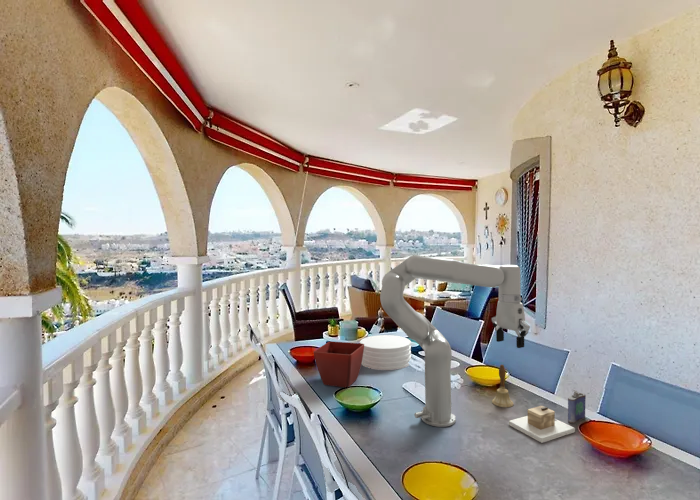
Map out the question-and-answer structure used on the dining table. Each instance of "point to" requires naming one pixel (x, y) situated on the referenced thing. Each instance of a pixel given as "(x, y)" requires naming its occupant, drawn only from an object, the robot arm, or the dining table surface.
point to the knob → (541, 417)
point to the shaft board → (542, 434)
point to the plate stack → (386, 352)
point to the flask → (576, 407)
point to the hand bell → (502, 391)
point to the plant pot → (339, 362)
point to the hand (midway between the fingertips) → (510, 344)
